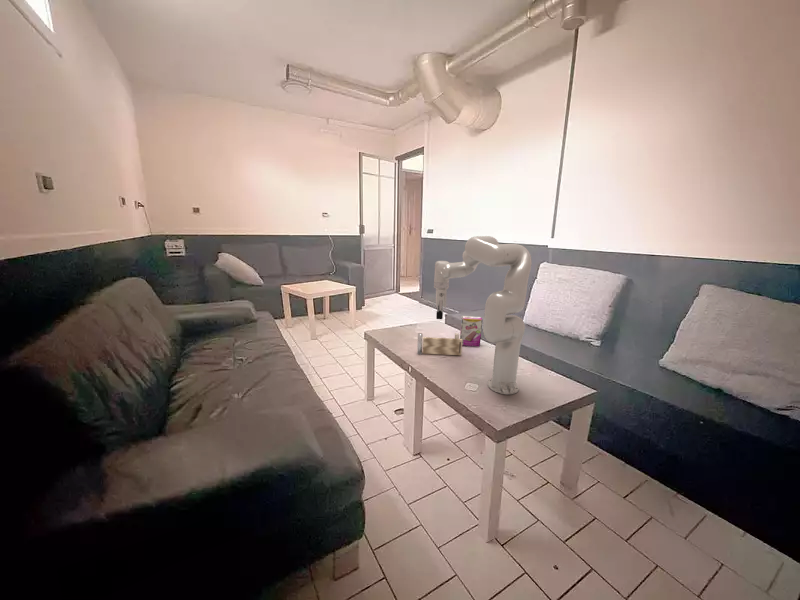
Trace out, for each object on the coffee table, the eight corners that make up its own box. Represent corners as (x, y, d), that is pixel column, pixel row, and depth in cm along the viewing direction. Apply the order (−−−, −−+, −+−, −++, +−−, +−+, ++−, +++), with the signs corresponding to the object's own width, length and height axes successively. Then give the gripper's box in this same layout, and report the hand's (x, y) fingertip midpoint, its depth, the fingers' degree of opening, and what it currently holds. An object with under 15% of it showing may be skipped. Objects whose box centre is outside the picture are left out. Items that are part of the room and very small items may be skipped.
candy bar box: (460, 346, 176) (461, 318, 172) (459, 342, 181) (461, 315, 177) (480, 347, 175) (482, 319, 171) (479, 343, 180) (481, 316, 176)
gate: (422, 353, 164) (423, 338, 162) (422, 352, 166) (423, 337, 164) (461, 355, 163) (462, 340, 161) (461, 354, 165) (462, 338, 162)
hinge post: (421, 354, 164) (422, 334, 161) (417, 354, 164) (417, 334, 162) (421, 352, 167) (422, 333, 164) (417, 352, 167) (417, 333, 164)
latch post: (457, 354, 165) (459, 334, 162) (453, 354, 165) (455, 334, 163) (457, 352, 167) (458, 333, 164) (453, 352, 167) (454, 333, 164)
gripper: (449, 288, 155) (447, 323, 160) (447, 282, 169) (445, 314, 174) (434, 288, 156) (432, 323, 160) (433, 281, 170) (431, 314, 175)
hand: (439, 318), depth 167 cm, fingers closed
